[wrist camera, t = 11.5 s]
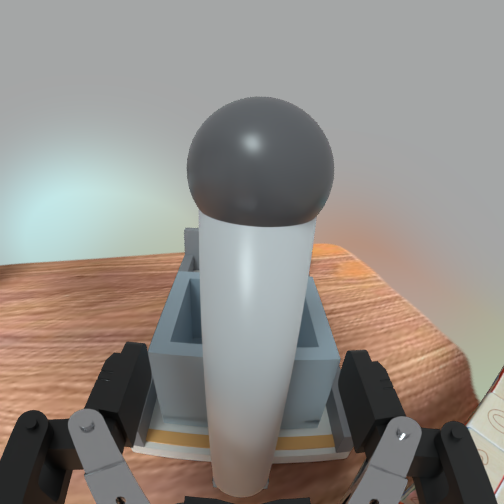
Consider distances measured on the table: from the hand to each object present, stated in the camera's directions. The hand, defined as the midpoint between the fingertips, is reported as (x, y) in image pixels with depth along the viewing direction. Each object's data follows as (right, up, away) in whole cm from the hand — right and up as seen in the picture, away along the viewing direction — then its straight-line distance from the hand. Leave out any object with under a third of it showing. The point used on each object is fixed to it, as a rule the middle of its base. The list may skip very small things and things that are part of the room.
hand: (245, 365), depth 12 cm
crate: (0, -6, +8) cm, 10 cm away
